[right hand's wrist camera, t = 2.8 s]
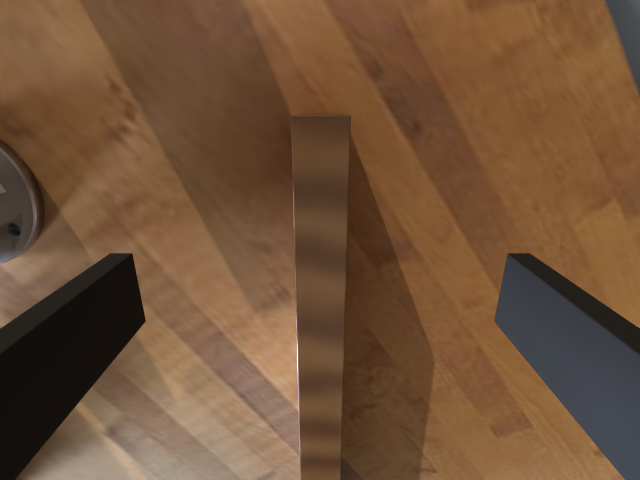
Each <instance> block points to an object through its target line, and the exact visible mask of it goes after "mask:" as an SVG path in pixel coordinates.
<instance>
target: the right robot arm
mask: <svg viewBox="0 0 640 480" xmlns="http://www.w3.org/2000/svg"><path fill="white" fill-rule="evenodd" d="M42 222H43V204H42V199H41V195H40V191H39V189H38V186H37V184H36V181H35V179H34V178H33V176H32V174H31V172H30V171H29V169H28V168H27V166H26V165H25V163H24V162H23V161H22V160H21V158H20V157H19V156H18V155H17V154H16V153H15V152H14V151H13V150H12V149H11V148H10V147H9V146H8V145H6V144H5V143H4V142H3V141H1V140H0V264H1V263H4V262H6V261H9V260H11V259H13V258H15V257H17V256H19V255H21V254H22V253H24V252H25V251H27V250H28V249H29V248H30V247H31V246H32V245H33V243H34V242H35V241H36V239H37V237H38V235H39V233H40V230H41V227H42ZM145 321H146V320H145V315H144V310H143V305H142V300H141V295H140V290H139V285H138V280H137V275H136V270H135V265H134V260H133V255H132V253H110V254H109V255H107V256H106V257H104V258H103V259H102V260H100V261H99V262H97V263H96V264H94V265H93V266H91V267H90V268H88V269H87V270H85V271H84V272H83V273H81V274H80V275H78V276H77V277H75V278H74V279H72V280H71V281H69V282H68V283H66V284H65V285H64V286H62V287H61V288H59V289H58V290H56V291H55V292H53V293H52V294H50V295H49V296H47V297H46V298H45V299H43V300H42V301H40V302H39V303H37V304H36V305H34V306H33V307H31V308H30V309H28V310H27V311H26V312H24V313H23V314H21V315H20V316H18V317H17V318H15V319H14V320H12V321H11V322H9V323H8V324H7V325H5V326H4V327H2V328H1V329H0V480H15V479H16V478H17V477H18V475H19V474H20V473H21V472H22V470H23V469H24V468H25V467H26V466H27V464H28V463H29V462H30V461H31V460H32V458H33V457H34V456H35V455H36V454H37V452H38V451H39V450H40V449H41V447H42V446H43V445H44V444H45V443H46V441H47V440H48V439H49V438H50V437H51V435H52V434H53V433H54V432H55V431H56V429H57V428H58V427H59V426H60V424H61V423H62V422H63V421H64V420H65V418H66V417H67V416H68V415H69V414H70V412H71V411H72V410H73V409H74V407H75V406H76V405H77V404H78V403H79V401H80V400H81V399H82V398H83V397H84V395H85V394H86V393H87V392H88V391H89V389H90V388H91V387H92V386H93V384H94V383H95V382H96V381H97V380H98V378H99V377H100V376H101V375H102V374H103V372H104V371H105V370H106V369H107V368H108V366H109V365H110V364H111V363H112V361H113V360H114V359H115V358H116V357H117V355H118V354H119V353H120V352H121V351H122V349H123V348H124V347H125V346H126V344H127V343H128V342H129V341H130V340H131V338H132V337H133V336H134V335H135V334H136V332H137V331H138V330H139V329H140V328H141V326H142V325H143V324H144V323H145ZM494 321H495V323H496V324H497V325H498V326H499V328H500V329H501V330H502V331H503V332H504V334H505V335H506V336H507V337H508V338H509V340H510V341H511V342H512V343H513V344H514V346H515V347H516V348H517V349H518V351H519V352H520V353H521V354H522V355H523V357H524V358H525V359H526V360H527V361H528V363H529V364H530V365H531V366H532V368H533V369H534V370H535V371H536V372H537V374H538V375H539V376H540V377H541V378H542V380H543V381H544V382H545V383H546V384H547V386H548V387H549V388H550V389H551V391H552V392H553V393H554V394H555V395H556V397H557V398H558V399H559V400H560V401H561V403H562V404H563V405H564V406H565V407H566V409H567V410H568V411H569V412H570V414H571V415H572V416H573V417H574V418H575V420H576V421H577V422H578V423H579V424H580V426H581V427H582V428H583V429H584V431H585V432H586V433H587V434H588V435H589V437H590V438H591V439H592V440H593V441H594V443H595V444H596V445H597V446H598V447H599V449H600V450H601V451H602V452H603V454H604V455H605V456H606V457H607V458H608V460H609V461H610V462H611V463H612V464H613V466H614V467H615V468H616V469H617V471H618V472H619V473H620V474H621V475H622V477H623V478H624V479H625V480H640V328H638V327H636V326H635V325H633V324H632V323H631V322H629V321H628V320H626V319H625V318H623V317H622V316H620V315H619V314H617V313H616V312H614V311H613V310H612V309H610V308H609V307H607V306H606V305H604V304H603V303H601V302H600V301H598V300H597V299H595V298H594V297H593V296H591V295H590V294H588V293H587V292H585V291H584V290H582V289H581V288H579V287H578V286H576V285H575V284H574V283H572V282H571V281H569V280H568V279H566V278H565V277H563V276H562V275H560V274H559V273H557V272H556V271H555V270H553V269H552V268H550V267H549V266H547V265H546V264H544V263H543V262H541V261H540V260H538V259H537V258H536V257H534V256H533V255H531V254H530V253H508V255H507V260H506V265H505V270H504V275H503V280H502V285H501V290H500V295H499V300H498V305H497V310H496V315H495V320H494Z"/></svg>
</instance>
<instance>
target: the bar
mask: <svg viewBox="0 0 640 480" xmlns="http://www.w3.org/2000/svg"><path fill="white" fill-rule="evenodd" d="M350 122H351V116H349V115H344V114H298V115H293V116H291V141H292V179H293V216H294V253H295V290H296V328H297V365H298V402H299V440H300V477H301V480H340V476H341V441H342V405H343V370H344V334H345V299H346V263H347V228H348V193H349V157H350Z"/></svg>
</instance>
